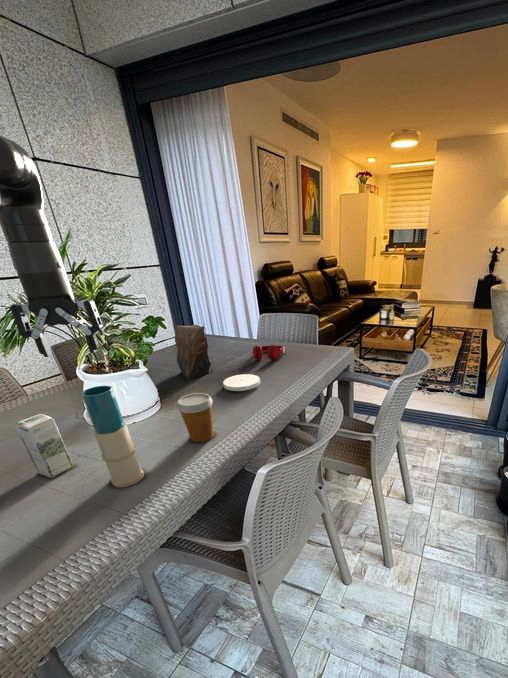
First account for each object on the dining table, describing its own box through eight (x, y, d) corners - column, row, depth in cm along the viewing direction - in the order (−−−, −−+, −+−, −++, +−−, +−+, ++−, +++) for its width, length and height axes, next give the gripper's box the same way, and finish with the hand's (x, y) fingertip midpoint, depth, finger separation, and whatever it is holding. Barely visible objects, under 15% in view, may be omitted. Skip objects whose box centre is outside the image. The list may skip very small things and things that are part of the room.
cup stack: (105, 485, 83) (84, 433, 77) (126, 468, 89) (109, 419, 83) (130, 489, 82) (111, 437, 75) (150, 471, 88) (134, 421, 81)
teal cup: (89, 432, 77) (74, 394, 73) (109, 420, 82) (96, 384, 78) (111, 435, 76) (97, 396, 71) (130, 423, 81) (118, 386, 76)
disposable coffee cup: (220, 427, 107) (213, 391, 102) (217, 443, 99) (209, 404, 93) (188, 431, 106) (179, 394, 100) (182, 447, 98) (172, 408, 92)
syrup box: (61, 461, 93) (38, 412, 86) (75, 467, 91) (53, 416, 84) (38, 473, 89) (12, 422, 82) (52, 479, 86) (26, 427, 79)
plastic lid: (222, 383, 141) (221, 377, 140) (257, 378, 145) (256, 372, 144) (225, 395, 129) (224, 389, 128) (263, 390, 133) (262, 383, 132)
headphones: (280, 361, 162) (287, 354, 181) (279, 345, 160) (286, 340, 178) (248, 361, 163) (259, 355, 182) (247, 346, 161) (257, 341, 180)
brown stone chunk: (178, 372, 155) (167, 326, 146) (206, 366, 161) (198, 321, 152) (187, 379, 146) (176, 331, 137) (216, 373, 152) (207, 326, 143)
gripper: (89, 266, 71) (113, 346, 78) (7, 269, 68) (40, 352, 75) (76, 269, 64) (103, 356, 72) (-15, 272, 61) (24, 362, 69)
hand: (71, 354), depth 73 cm, fingers open, 8 cm apart
